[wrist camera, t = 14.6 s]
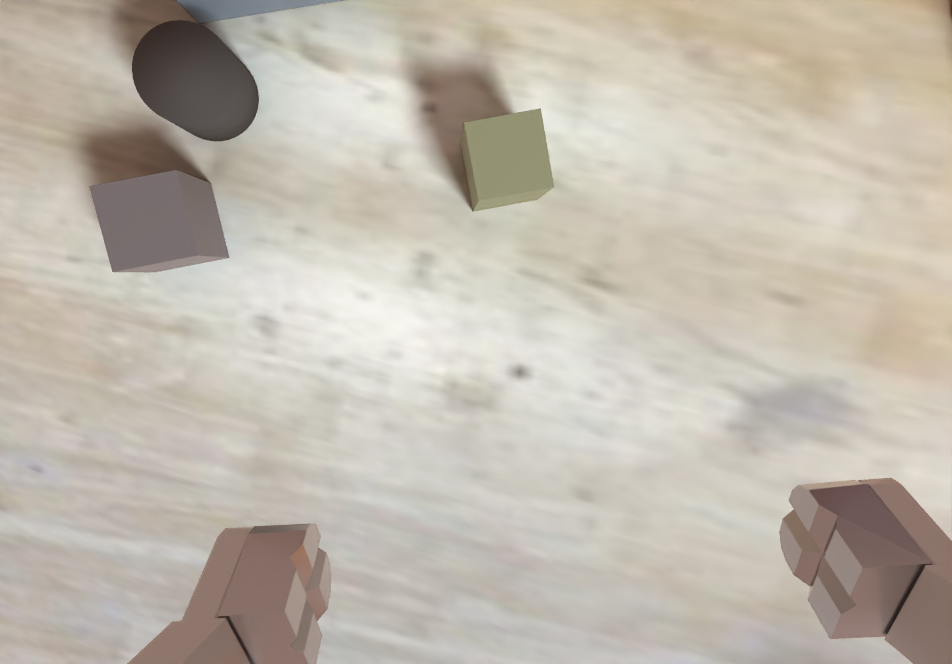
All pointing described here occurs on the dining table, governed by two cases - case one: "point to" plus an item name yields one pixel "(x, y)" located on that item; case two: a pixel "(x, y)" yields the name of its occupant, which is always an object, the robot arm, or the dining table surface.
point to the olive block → (506, 159)
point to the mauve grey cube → (159, 222)
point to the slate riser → (239, 7)
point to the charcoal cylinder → (194, 81)
